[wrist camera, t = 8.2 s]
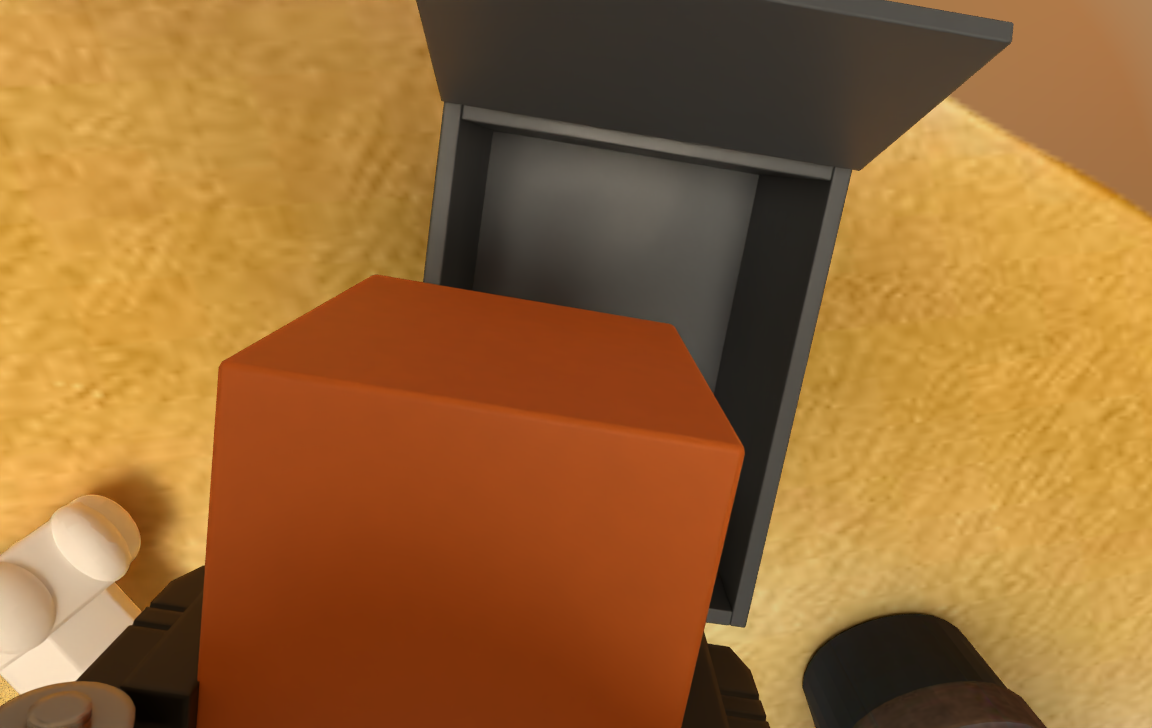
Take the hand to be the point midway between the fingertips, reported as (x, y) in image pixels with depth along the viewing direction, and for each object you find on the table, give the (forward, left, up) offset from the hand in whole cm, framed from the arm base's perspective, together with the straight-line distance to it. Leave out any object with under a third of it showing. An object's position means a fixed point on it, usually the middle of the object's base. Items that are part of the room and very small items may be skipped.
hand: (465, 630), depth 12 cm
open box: (-1, +2, -21) cm, 22 cm away
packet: (0, 0, -3) cm, 3 cm away
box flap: (-9, +2, -8) cm, 12 cm away
